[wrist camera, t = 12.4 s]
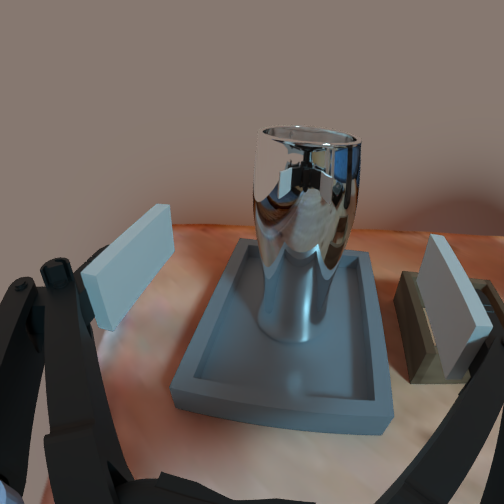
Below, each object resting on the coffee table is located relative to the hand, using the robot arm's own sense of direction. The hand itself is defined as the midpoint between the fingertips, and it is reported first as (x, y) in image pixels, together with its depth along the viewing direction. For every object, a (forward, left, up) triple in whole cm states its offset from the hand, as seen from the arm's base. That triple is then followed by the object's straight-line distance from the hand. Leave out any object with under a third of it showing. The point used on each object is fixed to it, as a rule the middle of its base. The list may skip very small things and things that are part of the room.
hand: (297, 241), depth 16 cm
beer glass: (0, -7, -11) cm, 13 cm away
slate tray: (0, -7, -12) cm, 14 cm away
